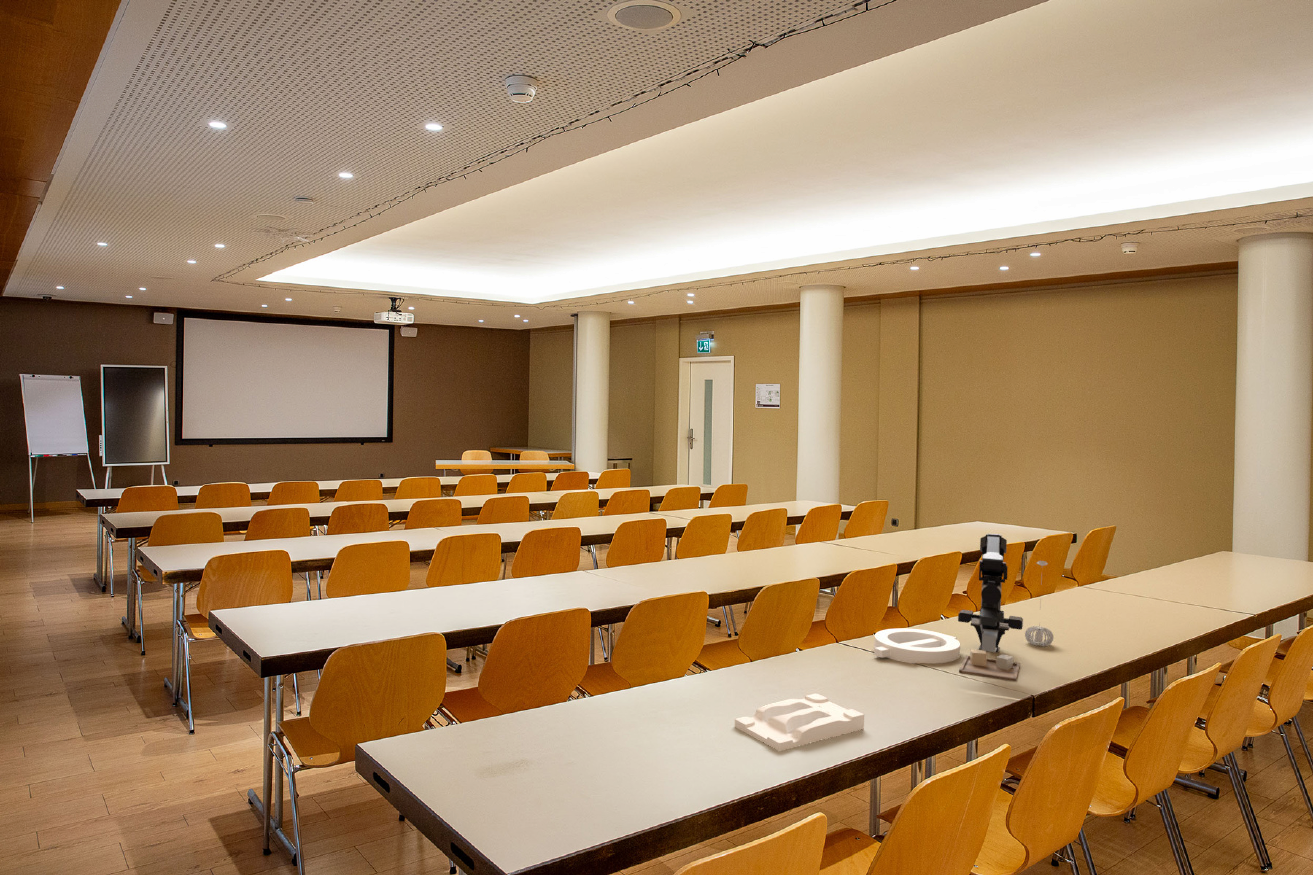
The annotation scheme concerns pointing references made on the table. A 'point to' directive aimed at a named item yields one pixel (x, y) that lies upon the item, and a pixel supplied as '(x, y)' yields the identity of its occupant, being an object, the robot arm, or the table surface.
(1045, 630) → the pendant light
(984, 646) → the grey cube block
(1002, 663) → the beige cube
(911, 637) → the ring with crossbar
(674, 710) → the table surface
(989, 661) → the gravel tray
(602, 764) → the table surface
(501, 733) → the table surface
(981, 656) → the tan cube
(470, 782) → the table surface
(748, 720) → the mold
